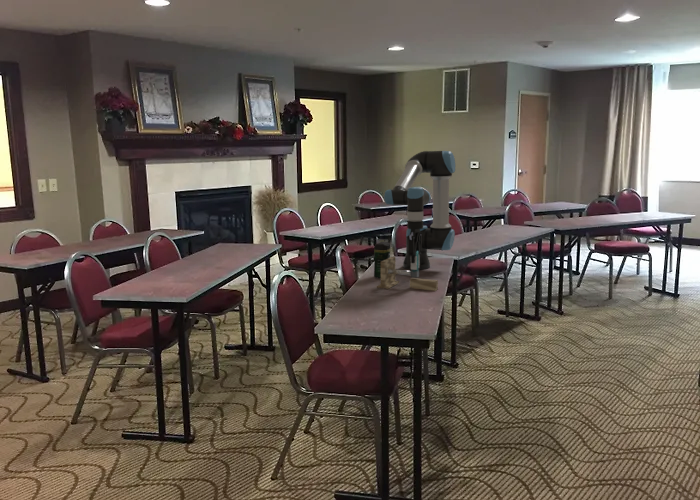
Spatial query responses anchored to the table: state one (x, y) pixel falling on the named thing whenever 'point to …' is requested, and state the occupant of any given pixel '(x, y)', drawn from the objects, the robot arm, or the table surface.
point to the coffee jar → (380, 256)
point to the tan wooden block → (386, 278)
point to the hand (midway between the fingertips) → (415, 268)
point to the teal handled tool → (401, 272)
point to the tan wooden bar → (424, 284)
